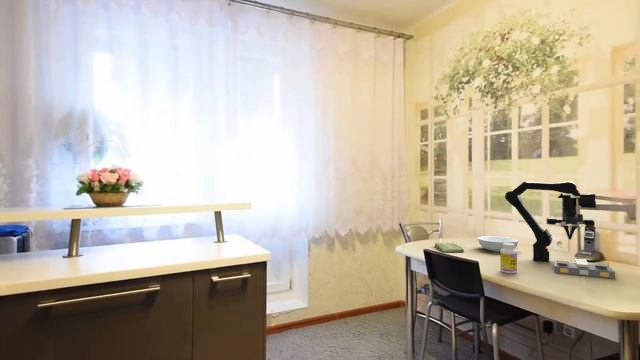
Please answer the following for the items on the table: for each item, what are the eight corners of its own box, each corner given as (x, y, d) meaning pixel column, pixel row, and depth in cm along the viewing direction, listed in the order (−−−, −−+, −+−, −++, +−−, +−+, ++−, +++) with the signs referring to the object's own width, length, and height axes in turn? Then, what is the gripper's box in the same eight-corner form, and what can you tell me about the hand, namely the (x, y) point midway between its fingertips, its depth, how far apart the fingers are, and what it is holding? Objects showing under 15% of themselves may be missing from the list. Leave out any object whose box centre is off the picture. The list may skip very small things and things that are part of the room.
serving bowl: (526, 254, 192) (526, 241, 192) (488, 254, 192) (487, 242, 192) (506, 246, 213) (506, 235, 212) (472, 247, 213) (472, 235, 213)
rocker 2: (577, 266, 153) (577, 263, 153) (575, 261, 159) (575, 258, 158) (588, 267, 151) (588, 264, 151) (586, 262, 157) (586, 259, 156)
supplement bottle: (510, 274, 154) (510, 245, 154) (497, 271, 160) (496, 243, 159) (520, 272, 157) (520, 244, 157) (506, 269, 163) (506, 241, 163)
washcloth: (442, 253, 198) (442, 248, 198) (433, 247, 216) (433, 242, 216) (465, 253, 198) (465, 247, 198) (455, 247, 215) (455, 241, 215)
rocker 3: (597, 265, 150) (597, 262, 150) (594, 265, 155) (594, 262, 155) (609, 266, 148) (608, 263, 148) (606, 266, 153) (605, 263, 153)
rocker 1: (558, 262, 157) (558, 260, 157) (556, 261, 162) (556, 258, 162) (568, 263, 155) (568, 261, 155) (567, 262, 160) (567, 259, 160)
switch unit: (554, 272, 155) (554, 265, 155) (552, 267, 164) (552, 260, 164) (615, 279, 145) (615, 270, 145) (609, 272, 154) (609, 265, 154)
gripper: (548, 208, 167) (548, 240, 167) (597, 209, 158) (597, 243, 158) (546, 206, 177) (546, 237, 177) (592, 207, 168) (592, 239, 168)
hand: (569, 239), depth 170 cm, fingers closed
